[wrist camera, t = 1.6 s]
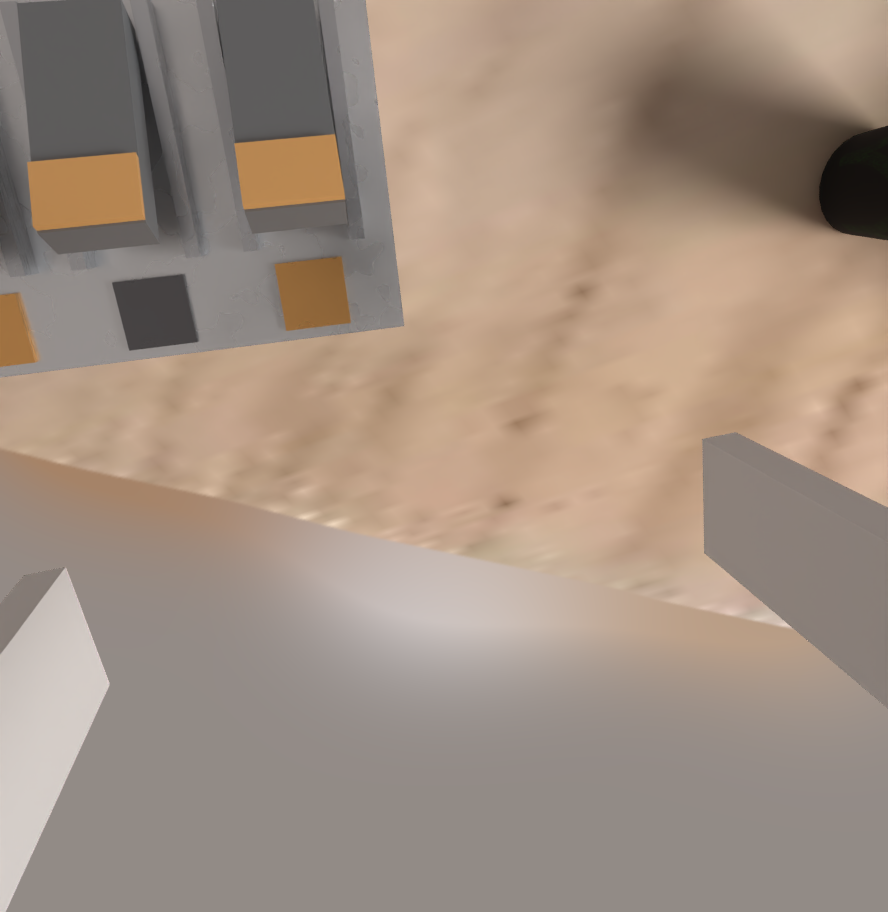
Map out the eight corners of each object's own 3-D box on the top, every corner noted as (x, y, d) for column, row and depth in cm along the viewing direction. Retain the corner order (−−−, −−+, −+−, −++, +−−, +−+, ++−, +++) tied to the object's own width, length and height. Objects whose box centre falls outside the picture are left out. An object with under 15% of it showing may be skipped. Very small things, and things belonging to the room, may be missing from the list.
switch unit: (-179, -54, 29) (-312, -129, 23) (345, -81, 32) (351, -153, 26) (-36, 367, 35) (-111, 397, 29) (393, 313, 38) (407, 330, 32)
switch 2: (223, 24, 27) (212, -16, 25) (314, 17, 28) (310, -23, 26) (252, 233, 26) (243, 207, 24) (347, 223, 26) (345, 197, 25)
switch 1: (38, 36, 26) (12, -4, 25) (135, 30, 27) (117, -11, 25) (58, 254, 25) (32, 229, 23) (159, 243, 26) (143, 217, 24)
